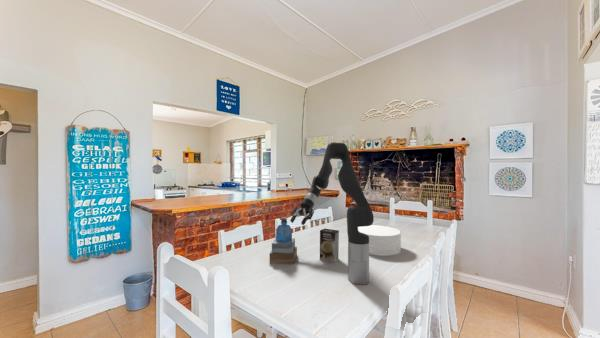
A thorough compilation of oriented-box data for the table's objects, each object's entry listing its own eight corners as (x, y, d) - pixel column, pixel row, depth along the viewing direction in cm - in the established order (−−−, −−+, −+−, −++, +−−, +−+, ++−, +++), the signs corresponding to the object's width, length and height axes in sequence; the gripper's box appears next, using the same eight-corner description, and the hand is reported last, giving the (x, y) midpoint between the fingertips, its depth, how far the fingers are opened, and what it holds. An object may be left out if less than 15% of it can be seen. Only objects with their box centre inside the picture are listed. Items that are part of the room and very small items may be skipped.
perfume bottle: (283, 238, 144) (283, 217, 144) (291, 240, 139) (291, 219, 139) (276, 240, 139) (276, 219, 139) (284, 243, 135) (284, 220, 135)
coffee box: (319, 259, 138) (319, 230, 138) (323, 256, 143) (323, 228, 143) (335, 262, 133) (335, 232, 133) (339, 259, 139) (339, 229, 139)
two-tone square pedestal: (293, 263, 132) (293, 244, 132) (269, 262, 133) (269, 243, 133) (296, 255, 145) (296, 238, 145) (274, 254, 146) (274, 237, 146)
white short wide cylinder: (368, 239, 179) (368, 223, 179) (408, 248, 159) (408, 230, 159) (345, 248, 159) (345, 230, 159) (387, 259, 139) (387, 238, 139)
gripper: (297, 196, 159) (284, 217, 150) (315, 198, 149) (303, 221, 141) (303, 204, 163) (291, 225, 154) (320, 206, 153) (309, 228, 145)
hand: (296, 223), depth 147 cm, fingers open, 8 cm apart
